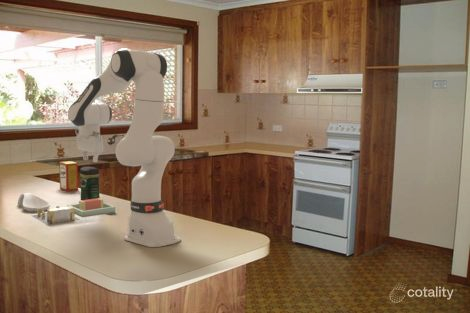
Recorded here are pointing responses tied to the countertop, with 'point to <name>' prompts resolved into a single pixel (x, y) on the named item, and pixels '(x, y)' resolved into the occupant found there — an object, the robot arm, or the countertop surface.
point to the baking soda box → (68, 175)
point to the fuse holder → (56, 215)
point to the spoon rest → (32, 202)
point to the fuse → (91, 204)
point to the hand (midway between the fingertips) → (90, 161)
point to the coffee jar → (89, 183)
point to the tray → (106, 209)
